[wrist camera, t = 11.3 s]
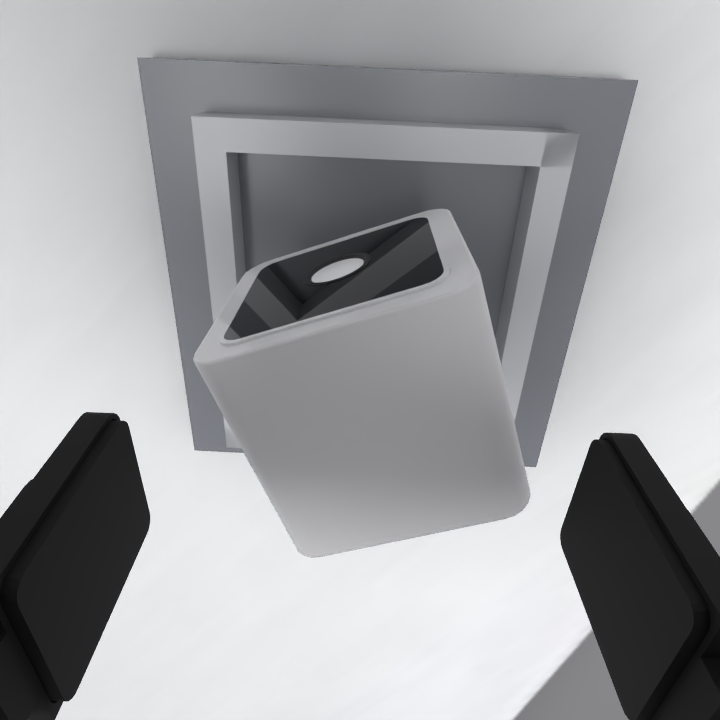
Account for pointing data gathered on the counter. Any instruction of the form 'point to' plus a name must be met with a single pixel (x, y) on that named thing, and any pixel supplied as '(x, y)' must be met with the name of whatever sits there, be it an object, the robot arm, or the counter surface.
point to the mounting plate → (384, 191)
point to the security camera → (369, 388)
